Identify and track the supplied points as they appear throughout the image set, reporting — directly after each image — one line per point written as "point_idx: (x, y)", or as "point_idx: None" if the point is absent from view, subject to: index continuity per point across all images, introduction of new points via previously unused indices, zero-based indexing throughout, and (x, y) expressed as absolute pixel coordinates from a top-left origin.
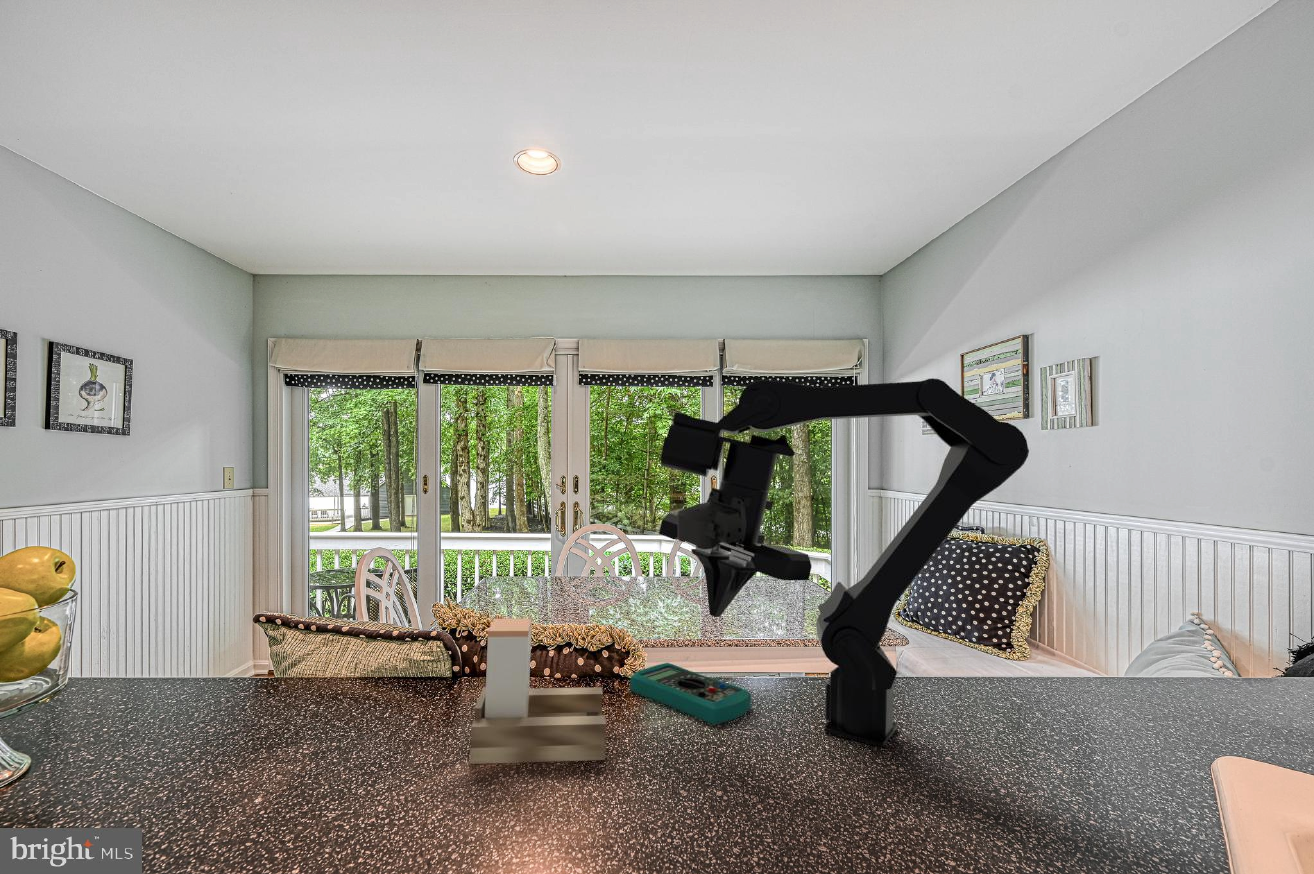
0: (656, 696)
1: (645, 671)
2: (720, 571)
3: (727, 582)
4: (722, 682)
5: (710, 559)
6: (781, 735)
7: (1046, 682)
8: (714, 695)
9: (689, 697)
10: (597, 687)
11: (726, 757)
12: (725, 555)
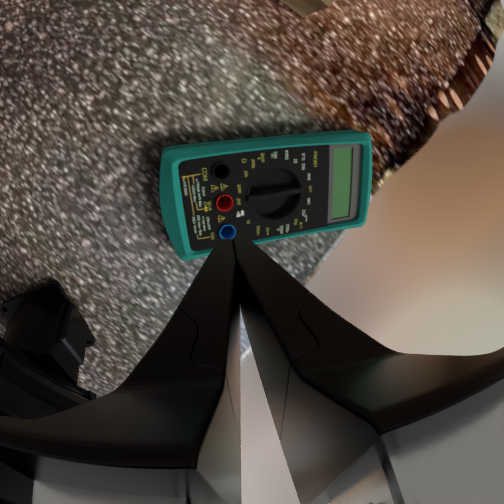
0: (303, 134)
1: (364, 164)
2: (216, 391)
3: (150, 355)
4: None
5: (345, 424)
6: (74, 219)
7: None
8: (205, 191)
9: (231, 146)
10: (332, 1)
11: (63, 88)
12: (333, 496)
